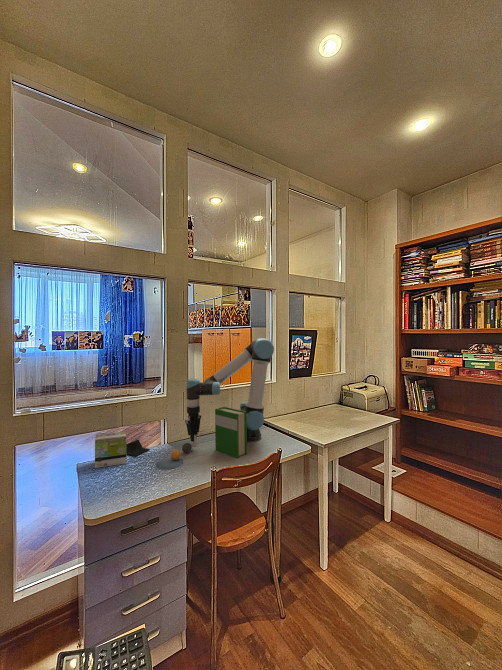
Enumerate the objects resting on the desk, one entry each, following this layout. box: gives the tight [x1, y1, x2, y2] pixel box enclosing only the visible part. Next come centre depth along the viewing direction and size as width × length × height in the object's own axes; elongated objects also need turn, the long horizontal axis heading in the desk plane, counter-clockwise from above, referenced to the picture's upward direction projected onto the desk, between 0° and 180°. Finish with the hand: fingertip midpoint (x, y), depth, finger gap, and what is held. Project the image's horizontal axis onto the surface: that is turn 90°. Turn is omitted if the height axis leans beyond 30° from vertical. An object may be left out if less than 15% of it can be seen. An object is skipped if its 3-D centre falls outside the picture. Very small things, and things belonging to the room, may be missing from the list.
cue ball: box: [181, 442, 193, 454], centre depth 174 cm, size 6×6×6 cm
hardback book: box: [214, 406, 248, 460], centre depth 174 cm, size 18×7×24 cm, turn 49°
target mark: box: [155, 457, 184, 470], centre depth 160 cm, size 14×14×1 cm
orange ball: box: [170, 449, 182, 460], centre depth 165 cm, size 6×6×6 cm
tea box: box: [94, 430, 127, 469], centre depth 162 cm, size 15×10×15 cm, turn 114°
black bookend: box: [126, 439, 151, 458], centre depth 176 cm, size 12×7×10 cm
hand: (193, 446), depth 179 cm, fingers closed
